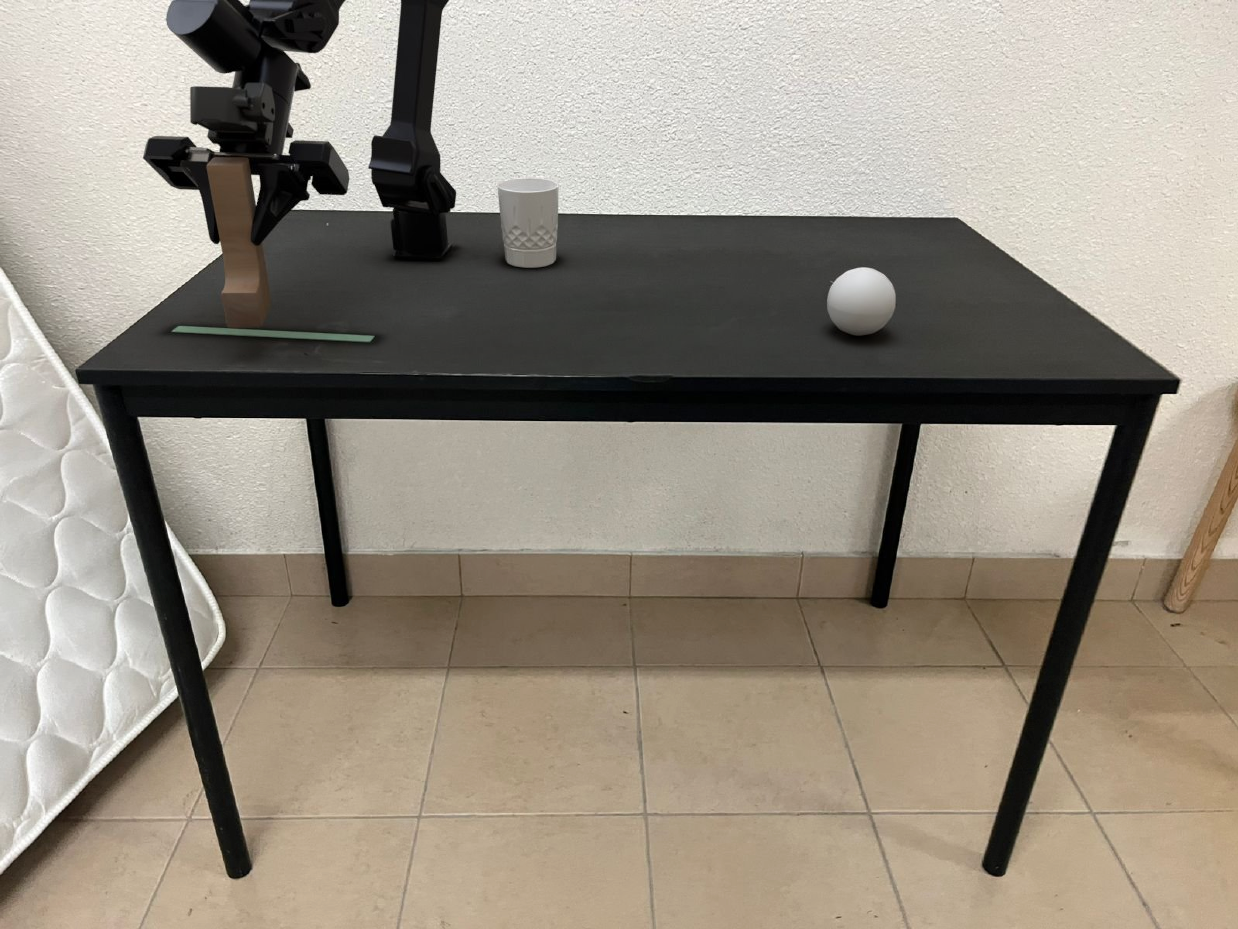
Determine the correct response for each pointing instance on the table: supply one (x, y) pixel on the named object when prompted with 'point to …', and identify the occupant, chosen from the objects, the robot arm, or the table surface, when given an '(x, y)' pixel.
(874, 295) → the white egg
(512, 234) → the white cup
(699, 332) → the table surface
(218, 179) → the wooden block
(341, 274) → the table surface
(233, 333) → the tape strip
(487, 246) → the table surface
